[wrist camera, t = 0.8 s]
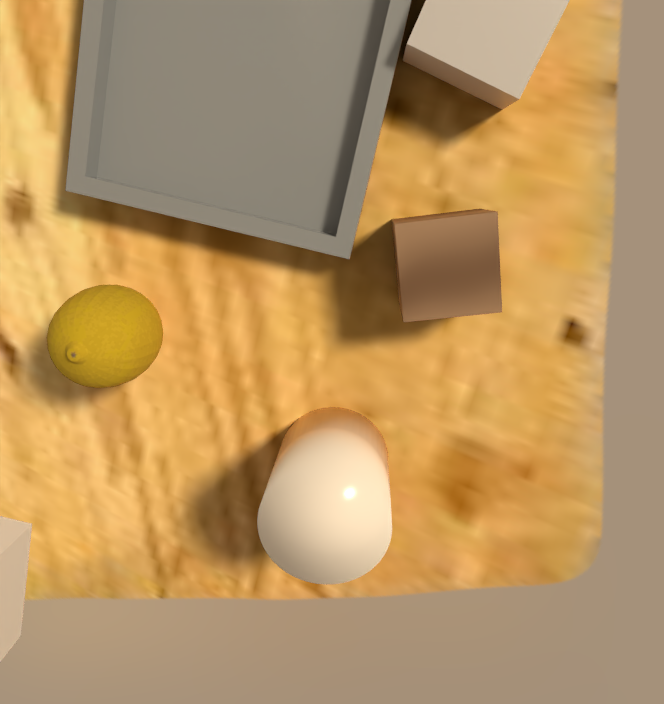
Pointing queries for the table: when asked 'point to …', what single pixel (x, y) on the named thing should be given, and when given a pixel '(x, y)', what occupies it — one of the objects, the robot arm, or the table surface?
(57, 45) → the table surface
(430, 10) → the grey box
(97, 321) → the lemon
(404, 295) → the walnut block
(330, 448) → the cream rounded cylinder
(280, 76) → the dish
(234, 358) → the table surface
